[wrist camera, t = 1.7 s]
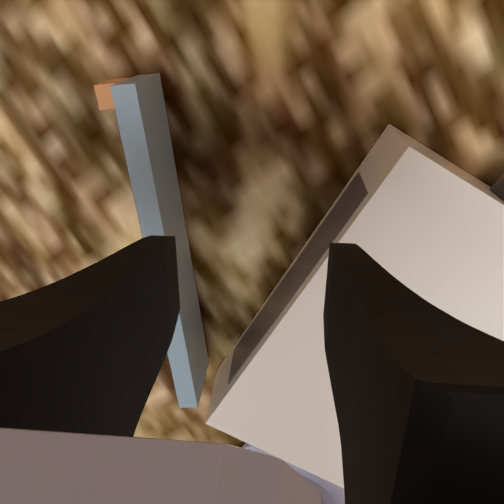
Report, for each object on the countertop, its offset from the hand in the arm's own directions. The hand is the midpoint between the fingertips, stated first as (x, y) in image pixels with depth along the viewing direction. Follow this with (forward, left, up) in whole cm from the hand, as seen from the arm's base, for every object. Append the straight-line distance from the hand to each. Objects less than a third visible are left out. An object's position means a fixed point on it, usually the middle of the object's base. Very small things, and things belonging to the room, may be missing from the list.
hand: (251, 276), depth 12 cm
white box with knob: (-3, -7, -8) cm, 12 cm away
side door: (-5, +2, -8) cm, 9 cm away
